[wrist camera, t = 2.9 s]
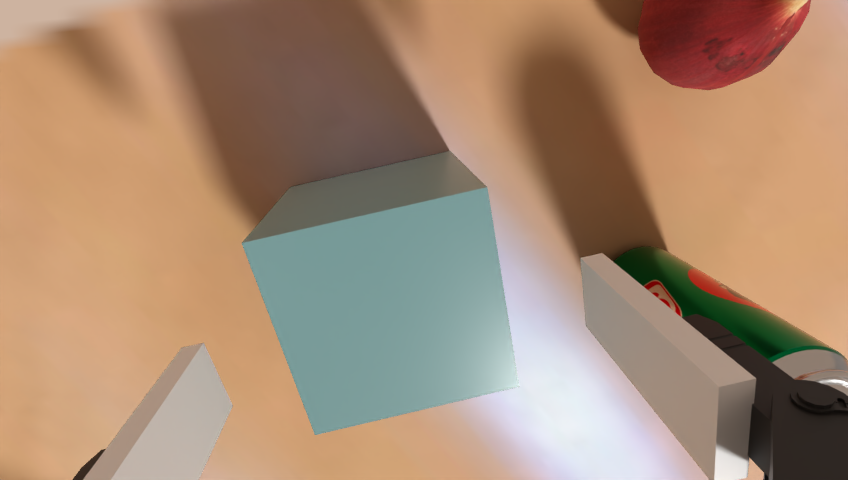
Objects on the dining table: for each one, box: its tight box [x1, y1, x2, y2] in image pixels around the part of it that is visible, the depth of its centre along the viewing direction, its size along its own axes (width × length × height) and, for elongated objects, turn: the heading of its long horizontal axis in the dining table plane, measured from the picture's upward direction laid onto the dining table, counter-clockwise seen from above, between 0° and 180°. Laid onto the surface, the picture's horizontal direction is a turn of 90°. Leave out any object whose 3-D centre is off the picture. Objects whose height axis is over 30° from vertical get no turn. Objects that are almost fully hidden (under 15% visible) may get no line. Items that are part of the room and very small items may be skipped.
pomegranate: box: [638, 0, 811, 90], centre depth 18 cm, size 6×6×8 cm
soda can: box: [613, 246, 848, 396], centre depth 21 cm, size 5×5×12 cm
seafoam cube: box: [242, 151, 519, 435], centre depth 21 cm, size 9×9×9 cm
